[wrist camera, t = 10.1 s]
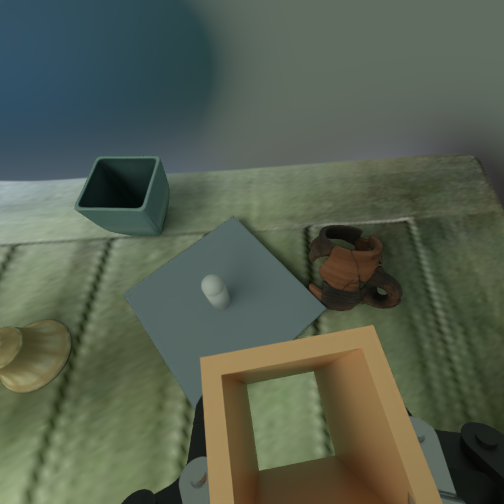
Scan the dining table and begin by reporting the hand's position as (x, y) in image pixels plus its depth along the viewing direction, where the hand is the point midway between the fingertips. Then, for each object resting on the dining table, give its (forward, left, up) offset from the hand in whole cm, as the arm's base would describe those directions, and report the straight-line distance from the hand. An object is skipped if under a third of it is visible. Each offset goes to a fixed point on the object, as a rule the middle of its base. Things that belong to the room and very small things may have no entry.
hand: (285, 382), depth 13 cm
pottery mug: (+15, +3, -19) cm, 24 cm away
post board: (+1, +11, -18) cm, 21 cm away
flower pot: (0, +29, -18) cm, 35 cm away
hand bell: (-20, +21, -18) cm, 34 cm away
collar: (-1, -2, -4) cm, 5 cm away
